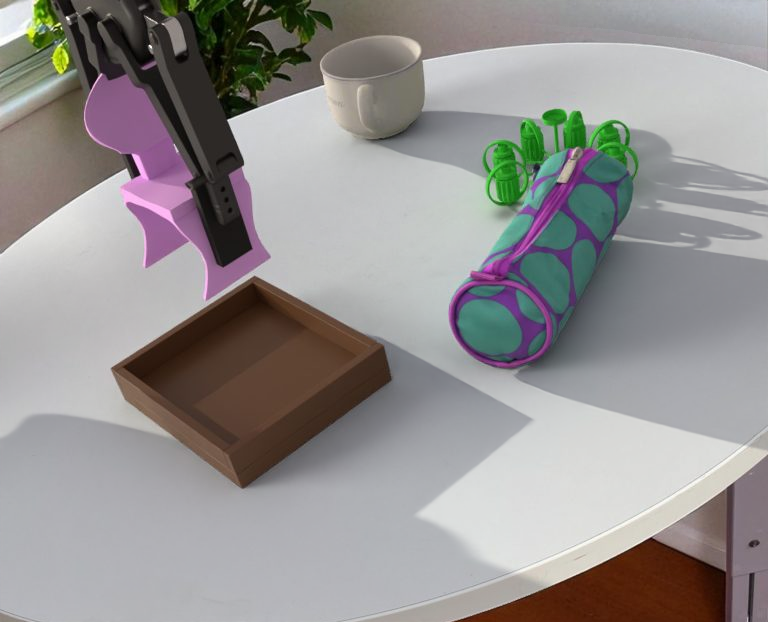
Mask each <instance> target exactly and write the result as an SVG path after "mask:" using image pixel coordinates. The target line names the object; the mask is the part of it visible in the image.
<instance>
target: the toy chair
mask: <svg viewBox="0 0 768 622" xmlns="http://www.w3.org/2000/svg"><path fill="white" fill-rule="evenodd" d="M156 64H157V63H156V60H155V61H154V62H152V63H150V64H148V65H146V66H144V67H142V68H141V69H143V70H146V69H148V68H150V67H152V66H154V65H156ZM83 116H84V117H83V118H84V125H85V129H86V131H87V133H88V134H89V136H90V138H92V140H93V141H94V142H96V143H98V144H99V145H101V146H103V147H105V148H108V149H111V150H114V151H116V152H118V153H119V154H120V155H121V154H132V156H133V158H134V160H135V163H136V165H137V167H138V169H139V172H140V174H141V175H140V176H138V177H136V178H134V179H132V180H131V179H130V180H129V181H127V182H125V183H123V184H122V185H120V186H119V191H120V192H121V195H122V197H123V201H122V202H123V204H124V205H125V207H126V208H127V210H129V211H130V213H132V214H133V216H134V217H135V219H136V220H137V221H138V222H139V225H140V227H141V229H142V233H143V238H144V248H143V249H144V252H143V253H144V254H143V261H142V267H143V268H144V269H148V268H150V267H152V266H153V265H156V263H158V262H160V261H161V260H163V259H164V258H166V257H167V256H169V255H171V254H172V253H173V252H175V251H176V250H178V249H180V248H182V247H183V246H184V245H187V243H188V242H190V243H191V244H192V245H193V246H194V248H196V250H197V252H199V254H200V256H201V258H202V259H203V263H204V267H205V283H204V290H203V301H205V302H207V301H209V300H211V299H212V298H214V297H216V296H217V295H218V294H220V293H221V292H223V291H224V290H226V289H227V288H229V287H230V286H232V285H233V284H235V283H236V282H238V281H239V280H240V279H242V278H243V277H245V276H247V275H248V274H250V273H251V272H252V271H254V270H255V269H257V268H258V267H260V266H261V265H263V264H264V263H265V262H267V261H268V260H270V259H271V254H270V253H269V252H268V251H267V249H266V248H265V246H264V245H263V243H262V241H261V239H260V238H259V235H258V232H257V230H256V227H255V220H254V212H253V197H252V196H253V195H252V188H251V185H250V182H249V181H248V179H247V178H246V177H245V173H244V171H243V166H242V167H241V168H239V169H237V170H236V171H234V172H232V173H231V174H229V178H230V181H231V184H232V187H233V190H234V193H235V196H236V199H237V202H238V205H239V208H240V211H241V214H242V217H243V221H244V224H245V227H246V230H247V233H248V236H249V239H250V242H251V245H252V248H253V249H252V250H251V251H249V252H247V253H246V254H244V255H243V256H241V257H239V258H238V259H236V260H235V261H233V262H232V263H230V264H228V265H227V266H225V267H224V268H222V267H221V266H219V265H217V263H216V260H215V257H214V254H213V252H212V249H211V246H210V243H209V241H208V238H207V235H206V232H205V229H204V227H203V224H202V221H201V218H200V216H199V213H198V210H197V207H196V204H195V202H194V199H193V196H192V193H191V190H189V189H188V188H187V187H186V185H185V183H186V182H188V181H190V180H191V179H193V176H192V175H191V173H190V171H189V169H188V167H187V166H186V164H185V162H184V160H183V158H182V157H181V155H180V153H179V151H177V150H176V149H177V148H176V146H175V144H174V142H173V141H172V139H171V137H170V135H169V133H168V132H167V130H166V128H165V126H164V124H163V123H162V121H161V119H160V117H159V116H158V114H157V112H156V110H155V108H154V107H153V105H152V103H151V101H150V99H149V98H148V96H147V94H146V92H145V91H144V90H143V89H141V88H137V87H135V86H134V85H133V84H132V82H131V80H130V79H129V77H128V75H127V74H125V75H123V76H121V77H119V78H116V79H113V80H110V81H108V79H107V77H106V75H105V74H102V73H101V74H100V76H99V77H98V79H97V80H96V82H95V84H94V86H93V88H92V90H91V92H90V94H89V97H88V100H86V103H85V106H84V113H83Z"/></svg>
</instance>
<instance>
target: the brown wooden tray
mask: <svg viewBox="0 0 768 622" xmlns="http://www.w3.org/2000/svg"><path fill="white" fill-rule="evenodd" d="M110 371H111V374H112V376H113V377H114V379H115V382H116V384H117V386H118V388H119V390H120V392H121V394H122V397H123V399H124V400H125V401H126V402H127V403H129V404H130V405H131V406H133V408H135V409H137V410H138V411H139V412H141V413H142V414H143V415H144V416H146V417H147V418H149V419H150V420H151V421H153V422H154V423H155V424H156V425H157V426H159V427H160V428H161V429H163V430H164V431H165V432H167V434H169V435H171V436H172V437H173V438H175V439H176V440H177V441H179V442H180V443H181V444H183V445H184V446H185V447H186V448H188V450H190V451H192V452H193V453H194V454H196V455H197V456H198V457H200V459H202V460H203V461H204V462H206V463H208V465H210V466H212V467H213V468H214V469H215V470H217V471H218V472H219V473H220V474H222V475H223V476H224V477H226V478H227V479H228V480H230V481H231V482H233V483H234V484H235V485H237V486H238V487H239V488H240V489H242V490H243V489H245V488H246V487H247V486H249V485H250V484H251V483H253V482H254V481H255V480H256V479H258V478H260V477H261V476H262V475H264V474H265V473H266V472H268V471H269V470H271V469H272V468H273V467H275V466H276V465H277V464H279V463H280V462H281V461H282V460H284V459H286V458H287V457H288V456H289V455H291V454H293V453H294V452H295V451H297V450H298V449H299V448H300V447H302V446H304V444H306V443H308V442H309V441H311V439H313V438H314V437H316V436H317V435H318V434H320V433H321V432H323V430H325V429H326V428H328V427H329V426H330V425H332V424H333V423H335V422H336V421H337V420H339V419H340V418H341V417H343V416H345V415H346V414H347V413H348V412H350V411H351V410H353V409H354V408H355V407H356V406H358V405H360V404H361V403H362V402H363V401H365V400H366V399H367V398H369V397H370V396H371V395H373V394H375V393H376V392H377V391H379V390H380V389H381V388H383V387H384V386H386V385H387V384H388V383H389V382H391V381H392V380H393V376H392V373H391V368H390V365H389V360H388V356H387V352H386V348H385V345H384V344H382V343H381V342H378V341H377V340H375V339H373V338H371V337H370V336H368V335H366V334H364V333H362V332H361V331H359V330H356V329H354V328H353V327H351V326H350V325H347V324H346V323H344V322H342V321H340V320H338V319H336V318H335V317H333V316H330V315H329V314H327V313H325V312H323V311H322V310H320V309H318V308H316V307H314V306H313V305H310V304H309V303H307V302H305V301H303V300H301V299H300V298H297V297H296V296H293V295H292V294H290V293H289V292H286V291H285V290H283V289H281V288H279V287H277V286H275V285H273V284H272V283H270V282H268V281H266V280H264V279H263V278H260V277H259V276H257V275H253V276H251V277H250V278H248V279H247V280H245V281H244V282H242V283H240V284H239V285H238V286H236V287H234V288H233V289H231V290H229V291H228V292H227V293H225V294H223V295H221V296H220V297H219V298H217V299H215V300H214V301H213V302H211V303H210V304H208V305H207V306H205V307H203V308H202V309H200V310H199V311H197V312H195V313H193V314H192V315H191V316H189V317H187V318H186V319H185V320H182V321H181V322H180V323H178V324H177V325H175V326H174V327H172V328H171V329H169V330H168V331H166V332H165V333H163V334H161V335H160V336H158V337H157V338H155V339H153V340H152V341H150V342H149V343H147V344H145V345H144V346H142V347H141V348H140V349H137V351H135V352H134V353H132V354H130V355H129V356H127V357H125V358H124V359H122V360H121V361H119V362H118V363H116V364H115V365H113V366H111V367H110Z"/></svg>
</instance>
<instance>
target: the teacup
mask: <svg viewBox="0 0 768 622" xmlns="http://www.w3.org/2000/svg"><path fill="white" fill-rule="evenodd" d="M423 55H424V50H423V47H422V45H421V44H420V43H419V42H418V41H416V40H415V39H413V38H410V37H407V36H402V35H388V34H387V35H383V34H382V35H381V34H380V35H377V34H376V35H372V36H364V37H359V38H356V39H353V40H350V41H347V42H344V43H342V44H340V45H337V46H336V47H334V48H332V49H330V50H329V51H328V52H327V53H325V54H324V55H323V57H322V58H321V60H320V62H319V68H320V69H319V70H320V71H321V74H322V78H323V83H324V89H325V94H326V98H327V99H326V100H327V103H328V107H329V109H330V113H331V115H332V117H333V120H334V121H335V123H336V124H337V125H338V126H339V127H341V128H342V129H343V130H345V131H346V132H349V133H351V134H352V135H353V136H355V137H357V138H360V139H366V140H380V139H379V138H382V139H386V137H387V138H390V137H389V136H391V137H393V136H392V135H394V136H396V135H398V134H397V133H399V134H401V133H403V132H404V131H406V128H407V127H408V126H409V125H410V124H411V125H412V123H413V122H414V121H415V120H416V119H417V118H418V117H419V116H420V115H421V112H422V111H423V108H424V106H425V101H426V85H425V83H426V82H425V72H424V61H423ZM411 125H410V126H411ZM410 126H409V127H410ZM409 127H408V128H409ZM408 128H407V129H408ZM403 130H404V131H403ZM400 132H401V133H400ZM395 134H396V135H395Z"/></svg>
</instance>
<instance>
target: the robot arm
mask: <svg viewBox="0 0 768 622" xmlns="http://www.w3.org/2000/svg"><path fill="white" fill-rule="evenodd" d="M50 4H51V6H52V9H53V10H54V13H55V14H56V17H57V19H58V21H59V23H60V26H61V27H62V30H63V33H64V35H65V38H66V42H67V44H68V47H69V51H70V53H71V57H72V60H73V63H74V66H75V69H76V72H77V75H78V79H79V81H80V84H81V88H82V91H83V94H84V96H85V99H86V100H85V101H87V100H88V97H89V94H90V92H91V90H92V88H93V86H94V84H95V82H96V80H97V79H98V77H99V76H100V74H101V73H102V74H105V75H106V77H107V79H108V81H110V80H113V79H116V78H119V77H121V76H123V75H125V74H127V75H128V77H129V79H130V80H131V82H132V84H133V85H134V86H135V87H137V88H141V89H143V90H144V91H145V92H146V94H147V96H148V98H149V99H150V101H151V103H152V105H153V107H154V108H155V110H156V112H157V114H158V116H159V117H160V119H161V121H162V123H163V124H164V126H165V128H166V130H167V132H168V133H169V135H170V137H171V139H172V141H173V144H174V147H175V149H177V150H176V151H177V152H179V153H180V155H181V157H182V158H183V160H184V162H185V164H186V166H187V167H188V169H189V171H190V173H191V175H192V176H193V179H191V180H190V181H188V182H186V183H185V185H186V187H187V188H188V189H189V190H191V193H192V196H193V199H194V202H195V204H196V207H197V210H198V213H199V216H200V218H201V221H202V224H203V227H204V229H205V232H206V235H207V238H208V241H209V243H210V246H211V249H212V252H213V254H214V257H215V260H216V263H217V265H219V266H221V267H222V268H224V267H225V266H227V265H228V264H230V263H232V262H233V261H235V260H236V259H238V258H239V257H241V256H243V255H244V254H246V253H247V252H249V251H251V250H252V249H253V248H252V245H251V242H250V239H249V236H248V233H247V230H246V227H245V224H244V221H243V217H242V214H241V211H240V208H239V205H238V202H237V199H236V196H235V193H234V190H233V187H232V184H231V181H230V178H229V174H231V173H232V172H234V171H236V170H237V169H239V168H241V167H242V168H243V167H244V165H245V160H244V157H243V155H242V152H241V150H240V147H239V145H238V141H237V140H236V138H235V135H234V133H233V130H232V128H231V126H230V123H229V121H228V118H227V116H226V113H225V110H224V108H223V106H222V104H221V101H220V99H219V96H218V94H217V91H216V89H215V87H214V84H213V81H212V80H211V78H210V77H211V76H210V74H209V72H208V69H207V67H206V65H205V62H204V60H203V58H202V55H201V53H200V49H199V46H198V41H197V38H196V34H195V29H194V25H193V21H192V20H191V17H190V16H189V14H187V12H185V11H180V12H179V13H177V14H174V15H173V16H169V15H167V14H165V13H164V12H163V11H162V7H161V4H160V3H159V1H158V0H50ZM155 60H156V63H157V64H156V65H154V66H152V67H150V68H148V69H146V70H143V69H141V68H142V67H144V66H146V65H148V64H150V63H152V62H154V61H155ZM120 155H121V157H122V160H123V163H124V165H125V168H126V169H127V172H128V175H129V178H130V181H131V180H132V179H134V178H136V177H138V176H140V175H141V174H140V172H139V169H138V167H137V165H136V163H135V160H134V158H133V156H132V154H120Z"/></svg>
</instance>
